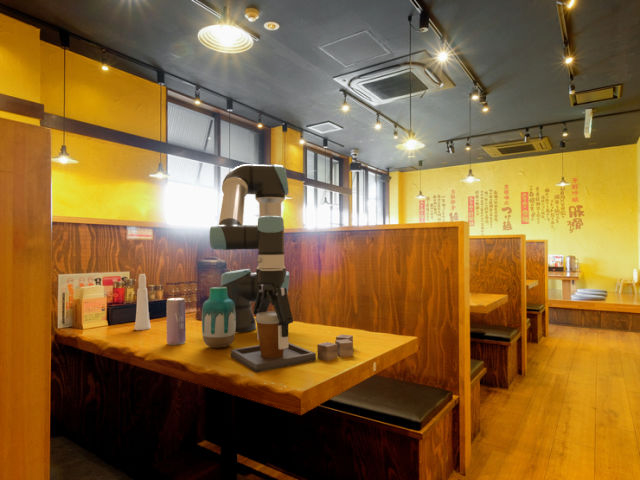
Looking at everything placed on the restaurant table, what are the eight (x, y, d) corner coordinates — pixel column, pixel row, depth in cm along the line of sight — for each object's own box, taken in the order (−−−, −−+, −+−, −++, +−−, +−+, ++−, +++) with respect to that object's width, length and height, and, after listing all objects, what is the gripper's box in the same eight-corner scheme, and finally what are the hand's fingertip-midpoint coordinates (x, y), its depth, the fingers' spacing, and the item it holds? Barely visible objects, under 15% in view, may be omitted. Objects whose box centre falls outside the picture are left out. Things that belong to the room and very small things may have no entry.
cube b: (335, 353, 116) (335, 340, 116) (347, 352, 117) (347, 339, 117) (340, 357, 112) (340, 343, 112) (353, 355, 114) (352, 342, 114)
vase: (200, 345, 128) (199, 287, 129) (232, 341, 133) (231, 285, 133) (204, 353, 119) (203, 290, 119) (238, 349, 123) (238, 288, 123)
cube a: (317, 358, 111) (317, 344, 112) (327, 355, 114) (327, 341, 114) (327, 361, 109) (327, 346, 109) (337, 358, 111) (337, 344, 112)
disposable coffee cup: (283, 360, 106) (282, 316, 107) (250, 359, 108) (249, 316, 108) (292, 351, 116) (292, 311, 116) (262, 350, 118) (261, 310, 118)
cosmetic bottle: (148, 329, 155) (148, 274, 155) (132, 330, 154) (131, 274, 154) (152, 326, 161) (152, 273, 161) (136, 327, 160) (136, 273, 160)
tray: (230, 356, 114) (230, 349, 114) (284, 347, 124) (284, 340, 124) (256, 372, 99) (256, 364, 99) (315, 360, 109) (315, 353, 109)
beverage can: (180, 340, 136) (180, 297, 136) (188, 343, 132) (188, 298, 132) (163, 343, 132) (163, 299, 132) (171, 346, 127) (171, 300, 128)
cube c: (336, 350, 120) (335, 337, 120) (341, 347, 124) (341, 334, 124) (348, 351, 118) (347, 338, 119) (353, 348, 122) (352, 335, 122)
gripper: (242, 268, 121) (242, 337, 120) (280, 272, 100) (281, 355, 99) (264, 267, 125) (265, 334, 124) (305, 270, 104) (306, 350, 104)
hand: (272, 343), depth 112 cm, fingers open, 13 cm apart
